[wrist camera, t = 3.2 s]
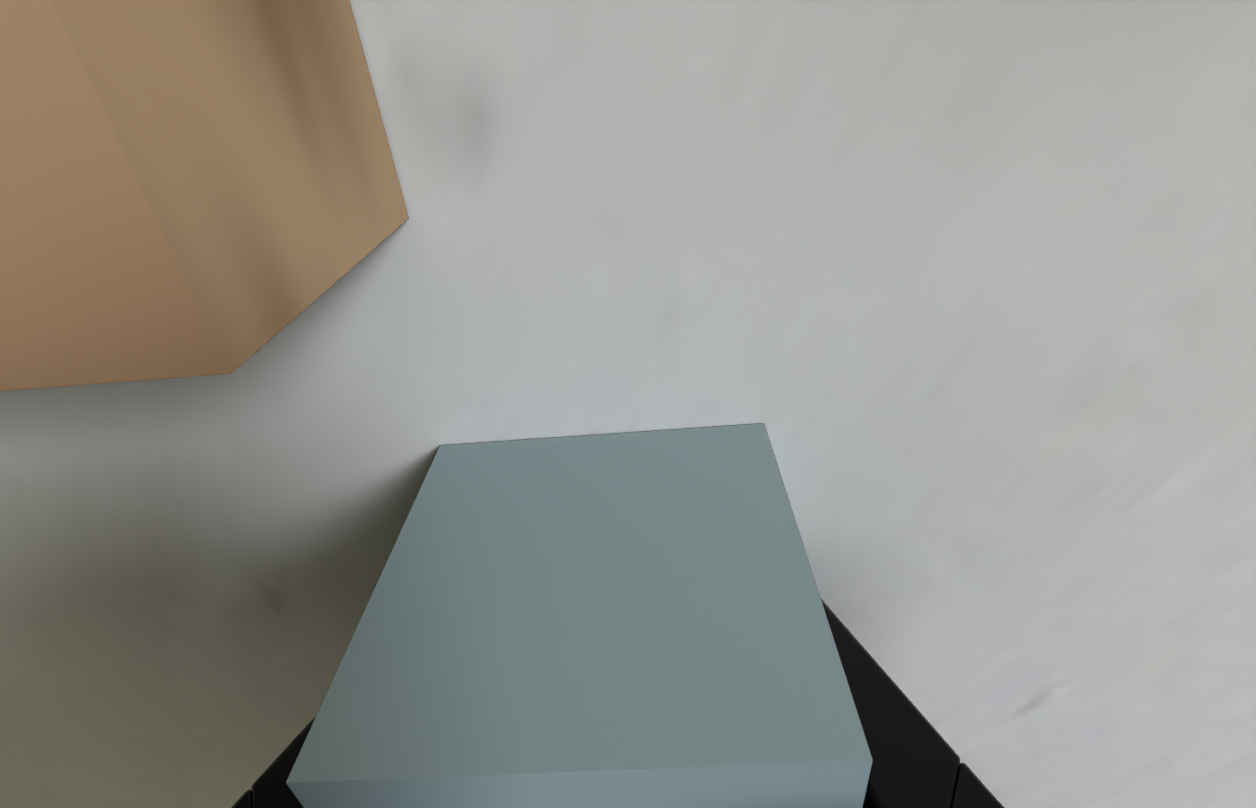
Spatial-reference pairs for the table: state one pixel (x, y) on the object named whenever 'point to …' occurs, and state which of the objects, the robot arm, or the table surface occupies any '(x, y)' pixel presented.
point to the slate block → (593, 639)
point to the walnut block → (178, 181)
